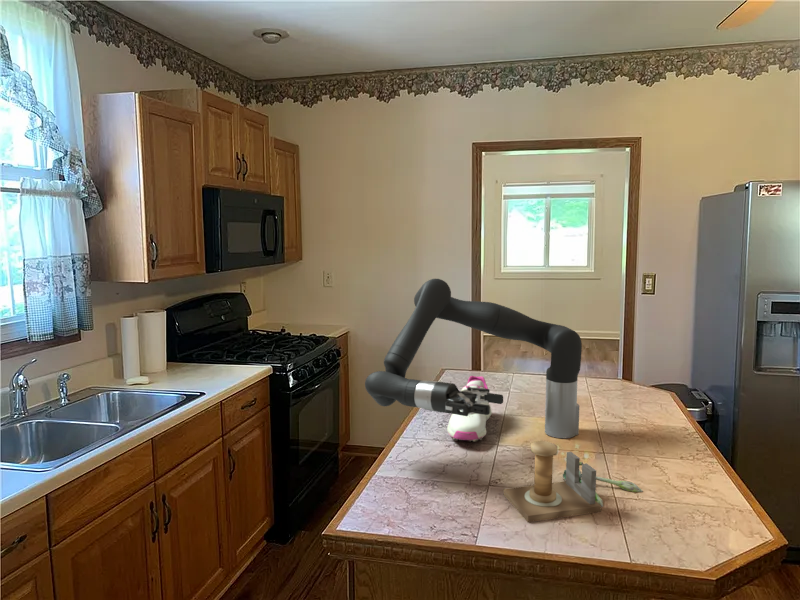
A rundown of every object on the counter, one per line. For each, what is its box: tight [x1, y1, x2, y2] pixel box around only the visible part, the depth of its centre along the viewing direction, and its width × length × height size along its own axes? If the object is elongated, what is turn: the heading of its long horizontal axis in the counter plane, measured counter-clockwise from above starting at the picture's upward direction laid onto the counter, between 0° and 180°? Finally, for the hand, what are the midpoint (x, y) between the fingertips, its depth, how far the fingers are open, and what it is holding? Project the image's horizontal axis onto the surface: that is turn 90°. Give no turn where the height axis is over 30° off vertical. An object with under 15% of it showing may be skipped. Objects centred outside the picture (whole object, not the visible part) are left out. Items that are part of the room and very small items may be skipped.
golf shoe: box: [446, 375, 493, 443], centre depth 181 cm, size 12×33×15 cm, turn 167°
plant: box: [562, 461, 643, 508], centre depth 143 cm, size 15×16×6 cm
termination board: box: [503, 451, 602, 523], centre depth 134 cm, size 18×13×10 cm
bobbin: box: [530, 440, 559, 503], centre depth 133 cm, size 6×6×12 cm
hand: (496, 404), depth 138 cm, fingers open, 8 cm apart
